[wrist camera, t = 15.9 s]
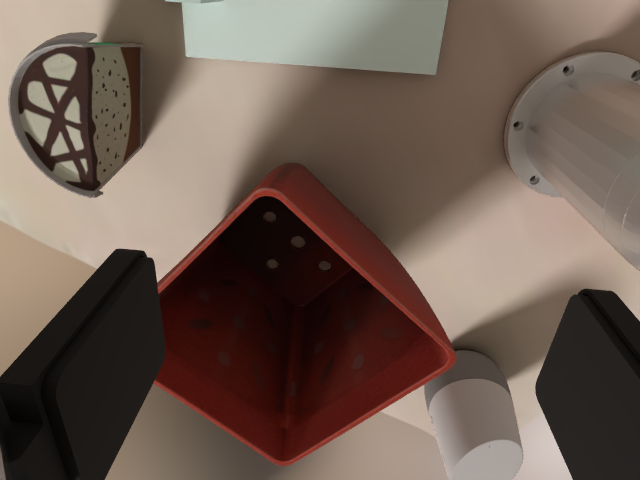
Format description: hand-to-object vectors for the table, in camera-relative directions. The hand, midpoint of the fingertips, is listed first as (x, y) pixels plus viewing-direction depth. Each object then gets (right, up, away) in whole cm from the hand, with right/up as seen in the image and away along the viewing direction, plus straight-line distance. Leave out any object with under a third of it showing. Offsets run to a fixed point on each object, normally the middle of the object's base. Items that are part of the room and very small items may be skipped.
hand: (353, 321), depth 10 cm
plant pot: (-3, +2, +38) cm, 38 cm away
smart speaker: (+16, -14, +45) cm, 50 cm away
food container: (-20, +15, +31) cm, 40 cm away
